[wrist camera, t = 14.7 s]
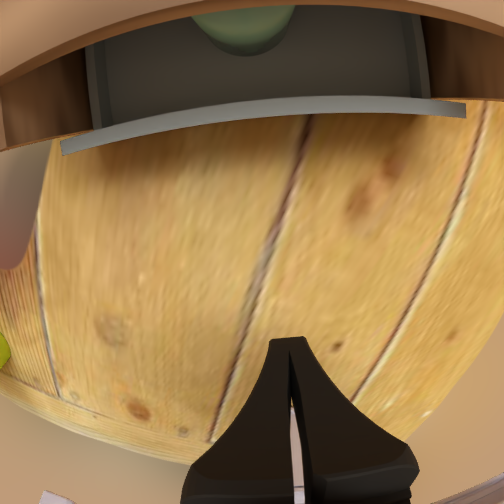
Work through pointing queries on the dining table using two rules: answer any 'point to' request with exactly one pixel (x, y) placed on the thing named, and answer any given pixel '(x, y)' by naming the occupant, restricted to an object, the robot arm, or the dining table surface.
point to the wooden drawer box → (195, 3)
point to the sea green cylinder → (246, 28)
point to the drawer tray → (258, 74)
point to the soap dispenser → (4, 351)
